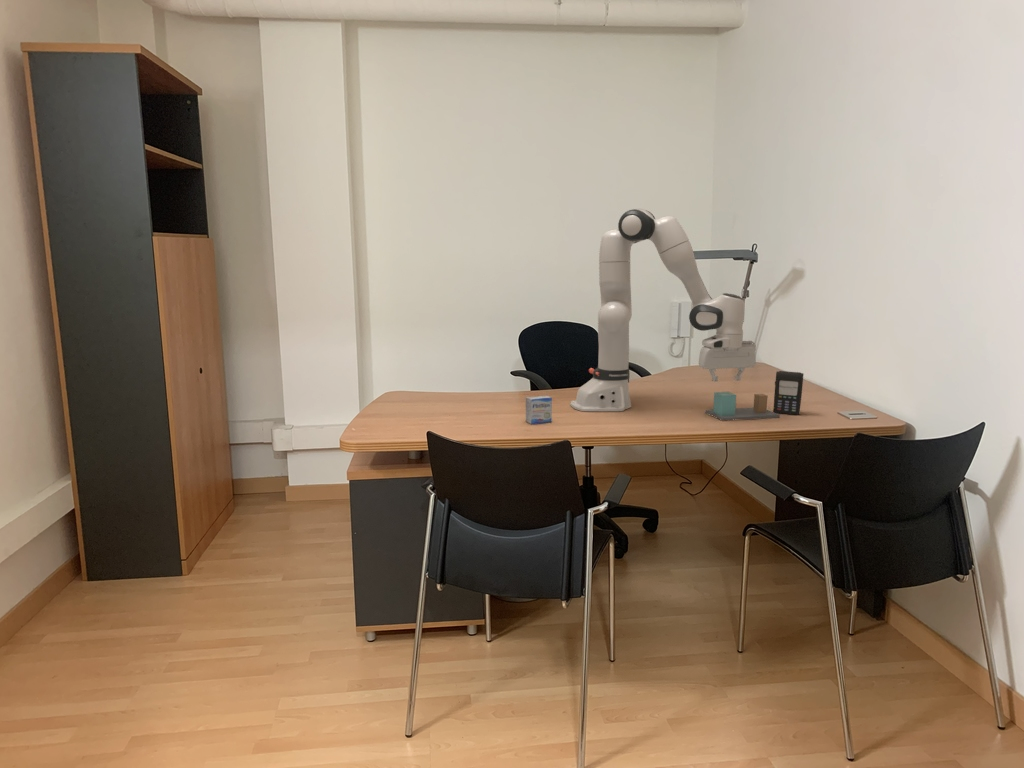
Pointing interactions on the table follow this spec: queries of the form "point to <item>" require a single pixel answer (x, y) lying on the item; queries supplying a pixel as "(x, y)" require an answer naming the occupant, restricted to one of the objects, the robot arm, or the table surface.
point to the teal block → (724, 403)
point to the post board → (749, 410)
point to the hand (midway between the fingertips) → (726, 380)
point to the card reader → (788, 392)
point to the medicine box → (538, 409)
